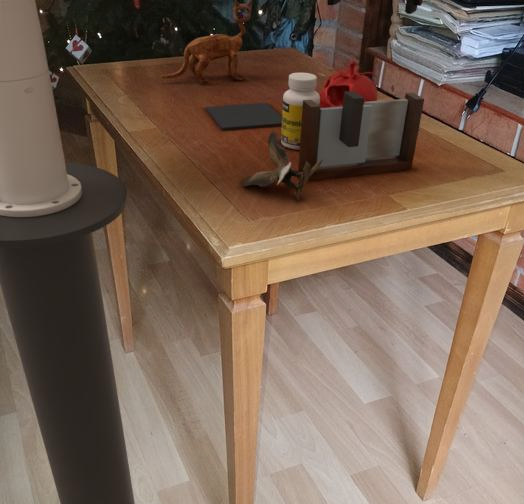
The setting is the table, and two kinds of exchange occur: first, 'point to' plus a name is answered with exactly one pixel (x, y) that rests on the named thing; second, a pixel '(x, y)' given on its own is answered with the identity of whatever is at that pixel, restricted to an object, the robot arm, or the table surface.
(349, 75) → the pomegranate
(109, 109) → the table surface
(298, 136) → the supplement bottle
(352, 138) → the sliding panel with handle
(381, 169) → the dark brown u-shaped frame
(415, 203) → the table surface
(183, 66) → the cat figurine
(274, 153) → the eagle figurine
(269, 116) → the rubber mat
